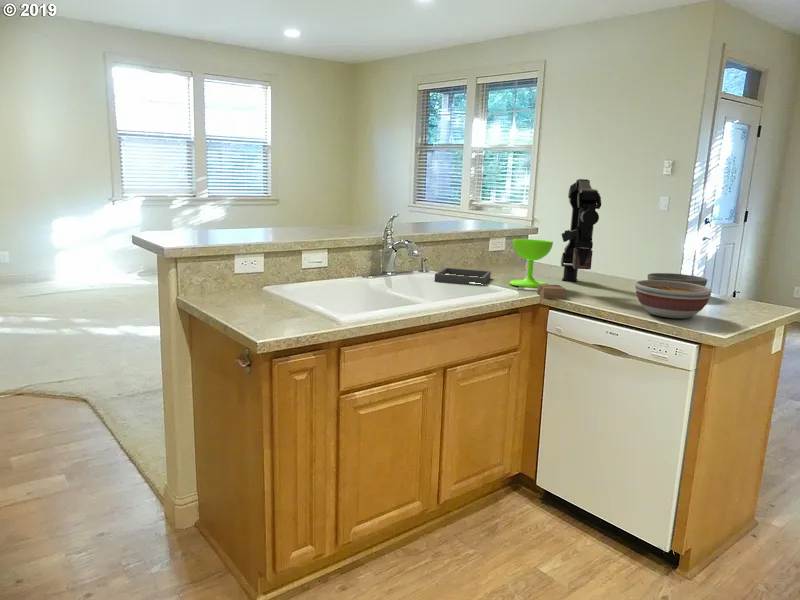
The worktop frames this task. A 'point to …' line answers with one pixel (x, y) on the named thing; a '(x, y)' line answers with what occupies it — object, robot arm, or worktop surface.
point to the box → (577, 260)
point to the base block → (551, 291)
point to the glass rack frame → (464, 279)
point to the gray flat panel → (527, 288)
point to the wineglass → (530, 258)
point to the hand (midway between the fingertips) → (581, 264)
